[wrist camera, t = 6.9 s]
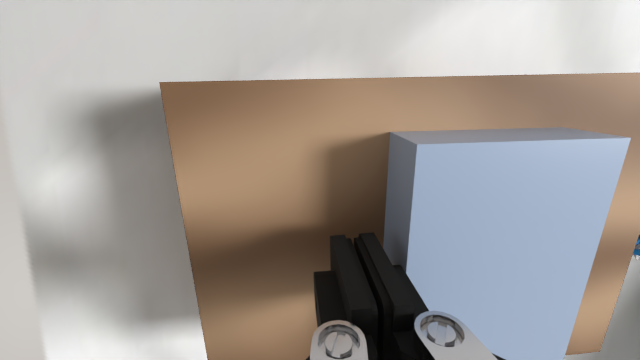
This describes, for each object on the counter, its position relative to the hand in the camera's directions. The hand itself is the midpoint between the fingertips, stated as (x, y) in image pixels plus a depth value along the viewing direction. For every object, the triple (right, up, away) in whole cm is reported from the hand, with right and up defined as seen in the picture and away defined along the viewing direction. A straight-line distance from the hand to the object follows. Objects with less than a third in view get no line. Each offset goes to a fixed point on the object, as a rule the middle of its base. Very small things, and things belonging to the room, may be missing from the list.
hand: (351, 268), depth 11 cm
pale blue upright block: (+5, +1, +2) cm, 5 cm away
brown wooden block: (+3, +2, +7) cm, 8 cm away
